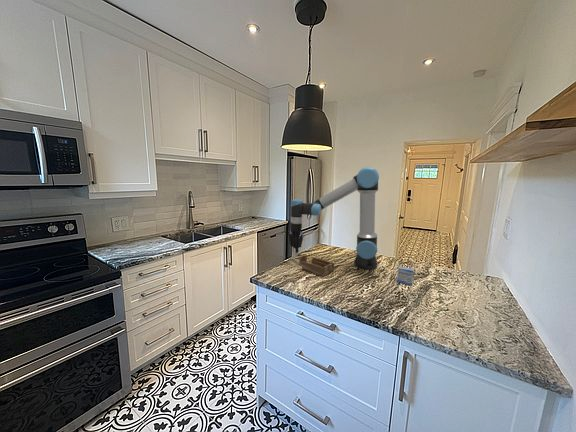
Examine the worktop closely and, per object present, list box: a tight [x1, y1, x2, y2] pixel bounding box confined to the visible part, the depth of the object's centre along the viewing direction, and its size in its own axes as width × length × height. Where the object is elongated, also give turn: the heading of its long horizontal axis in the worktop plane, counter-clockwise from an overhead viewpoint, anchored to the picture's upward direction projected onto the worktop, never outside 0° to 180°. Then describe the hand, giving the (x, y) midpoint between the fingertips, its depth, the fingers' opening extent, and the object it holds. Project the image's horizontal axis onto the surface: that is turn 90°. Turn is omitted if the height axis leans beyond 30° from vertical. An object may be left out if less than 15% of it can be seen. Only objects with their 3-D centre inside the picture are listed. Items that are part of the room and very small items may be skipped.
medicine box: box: [396, 265, 415, 286], centre depth 139 cm, size 8×4×9 cm, turn 62°
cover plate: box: [286, 254, 308, 269], centre depth 166 cm, size 9×13×7 cm
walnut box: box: [301, 256, 335, 278], centre depth 154 cm, size 12×16×6 cm
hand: (295, 256), depth 166 cm, fingers closed
